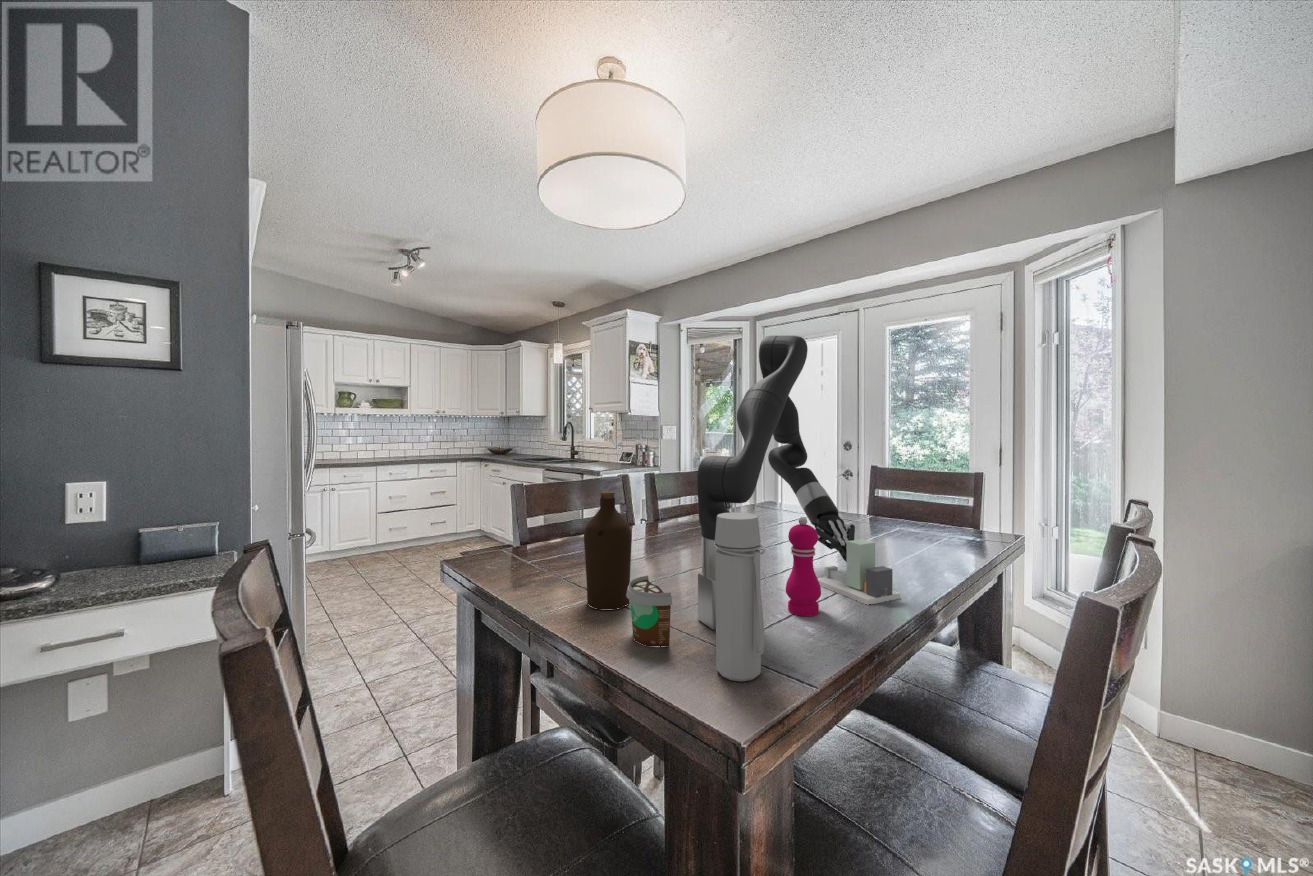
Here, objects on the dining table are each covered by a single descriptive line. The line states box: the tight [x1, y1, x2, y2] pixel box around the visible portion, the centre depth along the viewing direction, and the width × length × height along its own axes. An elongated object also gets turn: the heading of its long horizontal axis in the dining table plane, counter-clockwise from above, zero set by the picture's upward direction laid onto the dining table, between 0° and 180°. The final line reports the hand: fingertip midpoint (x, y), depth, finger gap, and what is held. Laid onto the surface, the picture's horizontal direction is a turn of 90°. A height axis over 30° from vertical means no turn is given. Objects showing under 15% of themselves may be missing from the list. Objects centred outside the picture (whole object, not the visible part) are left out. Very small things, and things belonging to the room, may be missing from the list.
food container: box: [626, 575, 673, 648], centre depth 92 cm, size 12×6×10 cm, turn 22°
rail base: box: [817, 565, 902, 606], centre depth 119 cm, size 10×17×7 cm, turn 23°
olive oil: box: [583, 490, 633, 610], centre depth 111 cm, size 11×11×25 cm
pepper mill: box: [785, 516, 822, 617], centre depth 105 cm, size 7×7×20 cm
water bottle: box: [714, 511, 767, 682], centre depth 78 cm, size 9×8×25 cm
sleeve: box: [846, 538, 876, 590], centre depth 117 cm, size 5×4×10 cm
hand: (852, 561), depth 119 cm, fingers closed
